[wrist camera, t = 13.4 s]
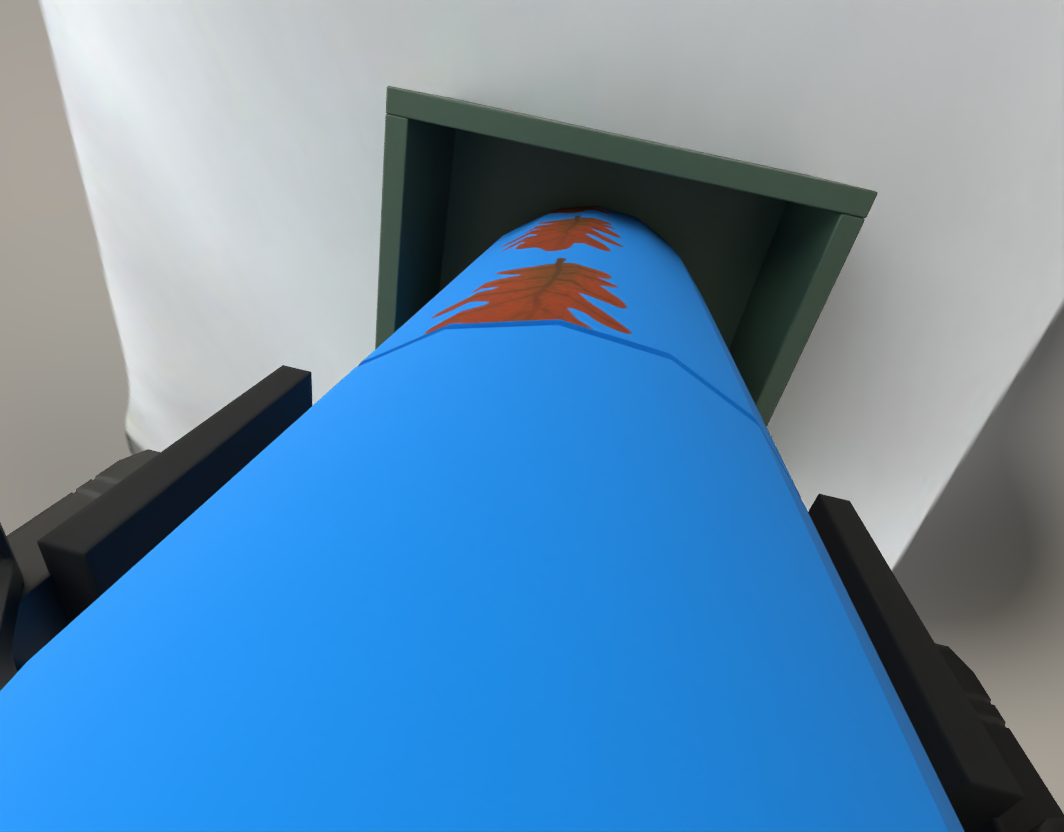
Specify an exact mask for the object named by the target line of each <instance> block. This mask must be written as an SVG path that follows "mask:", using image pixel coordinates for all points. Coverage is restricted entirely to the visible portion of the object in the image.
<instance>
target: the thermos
mask: <svg viewBox="0 0 1064 832" xmlns="http://www.w3.org/2000/svg"><path fill="white" fill-rule="evenodd" d="M0 832H964V830H963V827H962V825H961V823H960V821H959V819H958V817H957V815H956V813H955V811H954V809H953V807H952V805H951V803H950V801H949V799H948V797H947V795H946V793H945V791H944V789H943V787H942V785H941V783H940V781H939V779H938V776H937V774H936V772H935V770H934V768H933V766H932V764H931V762H930V760H929V758H928V756H927V754H926V752H925V750H924V748H923V746H922V744H921V742H920V740H919V738H918V736H917V734H916V732H915V730H914V727H913V725H912V723H911V721H910V719H909V717H908V715H907V713H906V711H905V709H904V707H903V705H902V703H901V701H900V699H899V697H898V695H897V693H896V691H895V689H894V687H893V685H892V683H891V681H890V678H889V676H888V674H887V672H886V670H885V668H884V666H883V664H882V662H881V660H880V658H879V656H878V654H877V652H876V650H875V648H874V646H873V644H872V642H871V640H870V638H869V636H868V634H867V632H866V630H865V627H864V625H863V623H862V621H861V619H860V617H859V615H858V613H857V611H856V609H855V607H854V605H853V603H852V601H851V599H850V597H849V595H848V593H847V591H846V589H845V587H844V585H843V583H842V581H841V578H840V576H839V574H838V572H837V570H836V568H835V566H834V564H833V562H832V560H831V558H830V556H829V554H828V552H827V550H826V548H825V546H824V544H823V542H822V540H821V538H820V536H819V534H818V532H817V529H816V527H815V525H814V523H813V521H812V519H811V517H810V515H809V513H808V511H807V509H806V507H805V505H804V503H803V502H802V500H801V497H800V495H799V493H798V491H797V489H796V487H795V485H794V483H793V481H792V478H791V476H790V474H789V472H788V470H787V468H786V466H785V464H784V462H783V460H782V458H781V456H780V454H779V452H778V450H777V448H776V446H775V444H774V442H773V440H772V438H771V436H770V434H769V432H768V429H767V427H766V425H765V423H764V421H763V419H762V417H761V415H760V413H759V411H758V409H757V407H756V405H755V403H754V401H753V399H752V397H751V395H750V393H749V391H748V389H747V387H746V385H745V383H744V381H743V378H742V376H741V374H740V372H739V370H738V368H737V366H736V364H735V362H734V360H733V358H732V356H731V354H730V352H729V350H728V348H727V346H726V344H725V342H724V340H723V338H722V336H721V334H720V332H719V329H718V327H717V325H716V323H715V321H714V319H713V317H712V315H711V313H710V311H709V309H708V307H707V305H706V303H705V301H704V299H703V297H702V295H701V293H700V292H699V290H698V288H697V286H696V284H695V283H694V281H693V279H692V277H691V276H690V274H689V272H688V270H687V268H686V267H685V265H684V263H683V261H682V260H681V258H680V256H679V255H678V254H677V253H676V252H675V250H674V249H673V248H672V247H671V246H670V245H669V243H668V242H667V241H665V240H664V239H663V238H662V237H660V236H659V235H658V234H657V233H655V232H654V231H653V230H652V229H650V228H649V227H648V226H647V225H645V224H644V223H643V222H642V221H640V220H639V219H638V218H637V217H633V216H630V215H627V214H624V213H620V212H617V211H614V210H610V209H607V208H604V207H601V206H584V207H571V208H558V209H555V210H553V211H551V212H549V213H547V214H544V215H542V216H540V217H538V218H536V219H534V220H532V221H530V222H528V223H526V224H523V225H521V226H520V227H518V228H516V229H514V230H512V231H511V232H509V233H507V234H505V235H503V236H502V237H501V238H500V239H498V240H497V241H496V242H495V243H494V244H493V245H492V246H491V247H489V248H488V249H487V250H486V251H485V252H484V253H483V254H482V255H481V256H479V257H478V258H477V259H476V260H475V261H474V262H473V263H472V264H471V265H469V266H468V267H467V268H466V269H465V270H464V271H463V272H462V273H460V274H459V275H458V276H457V277H456V278H455V279H454V280H453V281H452V282H450V283H449V284H448V285H447V286H446V287H445V288H444V289H443V290H442V291H440V292H439V293H438V294H437V295H436V296H435V297H434V298H433V299H431V300H430V301H429V302H428V303H427V304H426V305H425V306H424V307H423V308H421V309H420V310H419V311H418V312H417V313H416V314H415V315H414V316H412V317H411V318H410V319H409V320H408V321H407V322H406V323H405V324H404V325H402V326H401V327H400V328H399V329H398V330H397V331H396V332H395V333H394V334H392V335H391V336H390V337H389V338H388V339H387V340H386V341H385V342H383V343H382V344H381V345H380V346H379V347H378V348H377V349H376V350H375V351H373V352H372V353H371V354H370V355H369V356H368V357H367V358H366V359H364V360H363V361H362V362H361V363H360V364H359V366H358V367H356V368H354V369H353V370H352V371H351V372H350V373H349V374H348V375H347V376H346V377H344V378H343V379H342V380H341V381H340V382H339V383H338V384H337V385H335V386H334V387H333V388H332V389H331V390H330V391H329V392H328V393H327V394H325V395H324V396H323V397H322V398H321V399H320V400H319V401H318V402H317V403H315V404H314V405H313V406H312V407H311V408H310V409H309V410H308V411H306V412H305V413H304V414H303V415H302V416H301V417H300V418H299V419H298V420H296V421H295V422H294V423H293V424H292V425H291V426H290V427H289V428H287V429H286V430H285V431H284V432H283V433H282V434H281V435H280V436H279V437H277V438H276V439H275V440H274V441H273V442H272V443H271V444H270V445H269V446H267V447H266V448H265V449H264V450H263V451H262V452H261V453H260V454H258V455H257V456H256V457H255V458H254V459H253V460H252V461H251V462H250V463H248V464H247V465H246V466H245V467H244V468H243V469H242V470H241V471H239V472H238V473H237V474H236V475H235V476H234V477H233V478H232V479H231V480H229V481H228V482H227V483H226V484H225V485H224V486H223V487H222V488H221V489H219V490H218V491H217V492H216V493H215V494H214V495H213V496H212V497H210V498H209V499H208V500H207V501H206V502H205V503H204V504H203V505H202V506H200V507H199V508H198V509H197V510H196V511H195V512H194V513H193V514H192V515H190V516H189V517H188V518H187V519H186V520H185V521H184V522H183V523H181V524H180V525H179V526H178V527H177V528H176V529H175V530H174V531H173V532H171V533H170V534H169V535H168V536H167V537H166V538H165V539H164V540H162V541H161V542H160V543H159V544H158V545H157V546H156V547H155V548H154V549H152V550H151V551H150V552H149V553H148V554H147V555H146V556H145V557H144V558H142V559H141V560H140V561H139V562H138V563H137V564H136V565H135V566H133V567H132V568H131V569H130V570H129V571H128V572H127V573H126V574H125V575H123V576H122V577H121V578H120V579H119V580H118V581H117V582H116V583H114V584H113V585H112V586H111V587H110V588H109V589H108V590H107V591H106V592H104V593H103V594H102V595H101V596H100V597H99V598H98V599H97V600H96V601H94V602H93V603H92V604H91V605H90V606H89V607H88V608H87V609H85V610H84V611H83V612H82V613H81V614H80V615H79V616H78V617H77V618H75V619H74V620H73V621H72V622H71V623H70V624H69V625H68V626H67V627H65V628H64V629H63V630H62V631H61V632H60V633H59V634H58V635H56V636H55V637H54V638H53V639H52V640H51V641H50V642H49V643H48V644H46V645H45V646H44V647H43V648H42V649H41V650H40V651H39V652H37V653H36V654H35V655H34V656H33V657H32V658H31V659H30V660H29V661H27V662H26V664H25V665H24V666H23V667H22V668H21V669H20V670H19V671H18V672H17V673H16V675H15V676H14V677H13V678H12V679H11V680H10V681H9V682H8V683H7V684H6V685H5V687H4V688H3V689H2V690H1V691H0Z"/></svg>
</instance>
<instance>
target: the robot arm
mask: <svg viewBox="0 0 1064 832" xmlns="http://www.w3.org/2000/svg"><path fill="white" fill-rule="evenodd" d="M311 407H312V380H311V372H309V371H304V370H300V369H296V368H292V367H288V366H284V365H283V366H281V367H280V368H278V369H277V370H276V371H274V372H273V373H271V374H270V375H269V376H267V377H266V378H264V379H263V380H262V381H260V382H259V383H257V384H256V385H255V386H253V387H252V388H250V389H249V390H248V391H246V392H245V393H243V394H242V395H241V396H239V397H238V398H236V399H235V400H234V401H232V402H231V403H229V404H228V405H227V406H225V407H224V408H222V409H221V410H220V411H218V412H217V413H215V414H214V415H213V416H211V417H210V418H208V419H207V420H206V421H204V422H203V423H201V424H200V425H199V426H197V427H196V428H194V429H193V430H192V431H190V432H189V433H187V434H186V435H185V436H183V437H182V438H180V439H179V440H178V441H176V442H175V443H173V444H172V445H171V446H169V447H168V448H166V449H165V450H164V451H162V452H161V453H160V452H156V451H152V450H145V451H143V452H140V453H138V454H135V455H132V456H130V457H127V458H125V459H122V460H119V461H118V462H116V463H115V464H113V465H112V466H110V467H109V468H107V469H106V470H104V471H103V472H101V473H100V474H99V475H97V476H96V478H95V479H94V480H89V481H88V482H86V483H85V484H83V485H82V486H80V487H79V488H77V489H76V492H75V493H70V494H68V495H67V496H66V497H64V498H62V499H61V500H60V501H58V502H57V503H55V504H54V505H52V506H51V507H49V508H48V509H46V510H45V511H43V512H42V513H40V514H39V515H37V516H36V517H34V518H33V519H32V520H30V521H29V522H27V523H25V524H24V525H22V526H21V527H19V528H18V529H16V530H15V531H13V532H12V533H10V534H9V535H7V536H6V535H5V533H4V530H3V528H2V525H1V523H0V691H1V690H2V689H3V688H4V687H5V685H6V684H7V683H8V682H9V681H10V680H11V679H12V678H13V677H14V676H15V675H16V673H17V672H18V671H19V670H20V669H21V668H22V667H23V666H24V665H25V664H26V662H27V661H29V660H30V659H31V658H32V657H33V656H34V655H35V654H36V653H37V652H39V651H40V650H41V649H42V648H43V647H44V646H45V645H46V644H48V643H49V642H50V641H51V640H52V639H53V638H54V637H55V636H56V635H58V634H59V633H60V632H61V631H62V630H63V629H64V628H65V627H67V626H68V625H69V624H70V623H71V622H72V621H73V620H74V619H75V618H77V617H78V616H79V615H80V614H81V613H82V612H83V611H84V610H85V609H87V608H88V607H89V606H90V605H91V604H92V603H93V602H94V601H96V600H97V599H98V598H99V597H100V596H101V595H102V594H103V593H104V592H106V591H107V590H108V589H109V588H110V587H111V586H112V585H113V584H114V583H116V582H117V581H118V580H119V579H120V578H121V577H122V576H123V575H125V574H126V573H127V572H128V571H129V570H130V569H131V568H132V567H133V566H135V565H136V564H137V563H138V562H139V561H140V560H141V559H142V558H144V557H145V556H146V555H147V554H148V553H149V552H150V551H151V550H152V549H154V548H155V547H156V546H157V545H158V544H159V543H160V542H161V541H162V540H164V539H165V538H166V537H167V536H168V535H169V534H170V533H171V532H173V531H174V530H175V529H176V528H177V527H178V526H179V525H180V524H181V523H183V522H184V521H185V520H186V519H187V518H188V517H189V516H190V515H192V514H193V513H194V512H195V511H196V510H197V509H198V508H199V507H200V506H202V505H203V504H204V503H205V502H206V501H207V500H208V499H209V498H210V497H212V496H213V495H214V494H215V493H216V492H217V491H218V490H219V489H221V488H222V487H223V486H224V485H225V484H226V483H227V482H228V481H229V480H231V479H232V478H233V477H234V476H235V475H236V474H237V473H238V472H239V471H241V470H242V469H243V468H244V467H245V466H246V465H247V464H248V463H250V462H251V461H252V460H253V459H254V458H255V457H256V456H257V455H258V454H260V453H261V452H262V451H263V450H264V449H265V448H266V447H267V446H269V445H270V444H271V443H272V442H273V441H274V440H275V439H276V438H277V437H279V436H280V435H281V434H282V433H283V432H284V431H285V430H286V429H287V428H289V427H290V426H291V425H292V424H293V423H294V422H295V421H296V420H298V419H299V418H300V417H301V416H302V415H303V414H304V413H305V412H306V411H308V410H309V409H310V408H311ZM808 513H809V515H810V517H811V519H812V521H813V523H814V525H815V527H816V529H817V532H818V534H819V536H820V538H821V540H822V542H823V544H824V546H825V548H826V550H827V552H828V554H829V556H830V558H831V560H832V562H833V564H834V566H835V568H836V570H837V572H838V574H839V576H840V578H841V581H842V583H843V585H844V587H845V589H846V591H847V593H848V595H849V597H850V599H851V601H852V603H853V605H854V607H855V609H856V611H857V613H858V615H859V617H860V619H861V621H862V623H863V625H864V627H865V630H866V632H867V634H868V636H869V638H870V640H871V642H872V644H873V646H874V648H875V650H876V652H877V654H878V656H879V658H880V660H881V662H882V664H883V666H884V668H885V670H886V672H887V674H888V676H889V678H890V681H891V683H892V685H893V687H894V689H895V691H896V693H897V695H898V697H899V699H900V701H901V703H902V705H903V707H904V709H905V711H906V713H907V715H908V717H909V719H910V721H911V723H912V725H913V727H914V730H915V732H916V734H917V736H918V738H919V740H920V742H921V744H922V746H923V748H924V750H925V752H926V754H927V756H928V758H929V760H930V762H931V764H932V766H933V768H934V770H935V772H936V774H937V776H938V779H939V781H940V783H941V785H942V787H943V789H944V791H945V793H946V795H947V797H948V799H949V801H950V803H951V805H952V807H953V809H954V811H955V813H956V815H957V817H958V819H959V821H960V823H961V825H962V827H963V830H964V832H1064V814H1063V813H1062V811H1061V809H1060V807H1059V806H1058V805H1057V803H1056V801H1055V800H1054V798H1053V797H1052V795H1051V793H1050V792H1049V790H1048V789H1047V787H1046V785H1045V784H1044V782H1043V781H1042V779H1041V778H1040V776H1039V774H1038V773H1037V771H1036V770H1035V768H1034V767H1033V765H1032V764H1031V762H1030V760H1029V759H1028V757H1027V756H1026V754H1025V752H1024V751H1023V749H1022V748H1021V746H1020V745H1019V743H1018V741H1017V740H1016V738H1015V737H1014V735H1013V734H1012V732H1011V730H1010V729H1009V728H1006V727H1005V721H1004V719H1003V718H1002V716H1001V715H1000V713H999V712H998V710H997V709H996V707H995V705H991V703H990V701H991V699H990V698H989V696H988V694H987V693H986V691H985V690H984V688H983V687H982V685H981V683H980V682H979V680H978V679H977V677H976V675H975V674H974V672H973V671H972V670H971V669H970V668H969V667H968V666H967V665H966V664H965V663H964V662H963V661H962V660H961V659H960V658H959V657H958V656H957V655H956V654H955V653H954V652H953V651H952V650H951V649H950V648H949V647H948V646H943V645H940V644H936V643H934V641H933V640H932V638H931V636H930V635H929V633H928V631H927V630H926V628H925V626H924V625H923V623H922V621H921V620H920V618H919V616H918V615H917V613H916V611H915V609H914V608H913V606H912V604H911V603H910V601H909V599H908V598H907V596H906V594H905V593H904V591H903V589H902V588H901V586H900V584H899V583H898V581H897V579H896V578H895V576H894V574H893V573H892V571H891V569H890V568H889V566H888V564H887V563H886V561H885V559H884V558H883V556H882V554H881V553H880V551H879V549H878V547H877V546H876V544H875V542H874V541H873V539H872V537H871V536H870V534H869V532H868V531H867V529H866V527H865V526H864V524H863V522H862V521H861V519H860V517H859V516H858V514H857V512H856V511H855V509H854V507H853V506H852V504H851V502H850V501H847V500H843V499H839V498H835V497H831V496H826V495H822V494H819V495H818V496H817V498H816V500H815V501H814V503H813V505H812V507H811V508H810V510H809V512H808Z"/></svg>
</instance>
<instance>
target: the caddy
mask: <svg viewBox="0 0 1064 832" xmlns="http://www.w3.org/2000/svg"><path fill="white" fill-rule="evenodd" d="M386 113H387V114H386V120H385V143H384V165H383V188H382V210H381V233H380V256H379V278H378V301H377V323H376V346H375V350H376V349H377V348H378V347H379V346H380V345H381V344H382V343H383V342H385V341H386V340H387V339H388V338H389V337H390V336H391V335H392V334H394V333H395V332H396V331H397V330H398V329H399V328H400V327H401V326H402V325H404V324H405V323H406V322H407V321H408V320H409V319H410V318H411V317H412V316H414V315H415V314H416V313H417V312H418V311H419V310H420V309H421V308H423V307H424V306H425V305H426V304H427V303H428V302H429V301H430V300H431V299H433V298H434V297H435V296H436V295H437V294H438V293H439V292H440V291H442V290H443V289H444V288H445V287H446V286H447V285H448V284H449V283H450V282H452V281H453V280H454V279H455V278H456V277H457V276H458V275H459V274H460V273H462V272H463V271H464V270H465V269H466V268H467V267H468V266H469V265H471V264H472V263H473V262H474V261H475V260H476V259H477V258H478V257H479V256H481V255H482V254H483V253H484V252H485V251H486V250H487V249H488V248H489V247H491V246H492V245H493V244H494V243H495V242H496V241H497V240H498V239H500V238H501V237H502V236H503V235H505V234H507V233H509V232H511V231H512V230H514V229H516V228H518V227H520V226H521V225H523V224H526V223H528V222H530V221H532V220H534V219H536V218H538V217H540V216H542V215H544V214H547V213H549V212H551V211H553V210H555V209H558V208H571V207H584V206H601V207H604V208H607V209H610V210H614V211H617V212H620V213H624V214H627V215H630V216H633V217H637V218H638V219H639V220H640V221H642V222H643V223H644V224H645V225H647V226H648V227H649V228H650V229H652V230H653V231H654V232H655V233H657V234H658V235H659V236H660V237H662V238H663V239H664V240H665V241H667V242H668V243H669V245H670V246H671V247H672V248H673V249H674V250H675V252H676V253H677V254H678V255H679V256H680V258H681V260H682V261H683V263H684V265H685V267H686V268H687V270H688V272H689V274H690V276H691V277H692V279H693V281H694V283H695V284H696V286H697V288H698V290H699V292H700V293H701V295H702V297H703V299H704V301H705V303H706V305H707V307H708V309H709V311H710V313H711V315H712V317H713V319H714V321H715V323H716V325H717V327H718V329H719V332H720V334H721V336H722V338H723V340H724V342H725V344H726V346H727V348H728V350H729V352H730V354H731V356H732V358H733V360H734V362H735V364H736V366H737V368H738V370H739V372H740V374H741V376H742V378H743V381H744V383H745V385H746V387H747V389H748V391H749V393H750V395H751V397H752V399H753V401H754V403H755V405H756V407H757V409H758V411H759V413H760V415H761V417H762V419H763V421H764V423H765V425H766V427H767V425H768V423H769V421H770V419H771V417H772V414H773V412H774V410H775V408H776V406H777V404H778V402H779V400H780V398H781V395H782V393H783V391H784V389H785V387H786V385H787V383H788V381H789V379H790V376H791V374H792V372H793V370H794V368H795V366H796V364H797V362H798V360H799V357H800V355H801V353H802V351H803V349H804V347H805V345H806V343H807V341H808V338H809V336H810V334H811V332H812V330H813V328H814V326H815V324H816V322H817V319H818V317H819V315H820V313H821V311H822V309H823V307H824V305H825V303H826V300H827V298H828V296H829V294H830V292H831V290H832V288H833V286H834V284H835V281H836V279H837V277H838V275H839V273H840V271H841V269H842V267H843V265H844V262H845V260H846V258H847V256H848V254H849V252H850V250H851V248H852V246H853V243H854V241H855V239H856V237H857V235H858V233H859V231H860V229H861V227H862V224H863V222H864V218H866V217H867V215H868V213H869V211H870V208H871V206H872V204H873V202H874V200H875V198H876V196H877V192H876V191H872V190H867V189H863V188H859V187H855V186H851V185H847V184H843V183H838V182H834V181H830V180H826V179H822V178H818V177H813V176H809V175H805V174H800V173H795V172H791V171H786V170H781V169H777V168H772V167H768V166H763V165H758V164H754V163H749V162H744V161H740V160H735V159H731V158H726V157H721V156H717V155H712V154H707V153H703V152H698V151H694V150H689V149H684V148H680V147H675V146H670V145H666V144H661V143H657V142H652V141H647V140H643V139H638V138H633V137H629V136H624V135H620V134H615V133H610V132H606V131H601V130H596V129H592V128H587V127H583V126H578V125H573V124H569V123H564V122H559V121H555V120H550V119H546V118H541V117H536V116H532V115H527V114H523V113H518V112H513V111H509V110H504V109H499V108H495V107H490V106H486V105H481V104H476V103H472V102H467V101H462V100H458V99H453V98H449V97H443V96H438V95H433V94H428V93H422V92H417V91H412V90H407V89H401V88H396V87H391V86H388V87H387V99H386Z"/></svg>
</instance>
